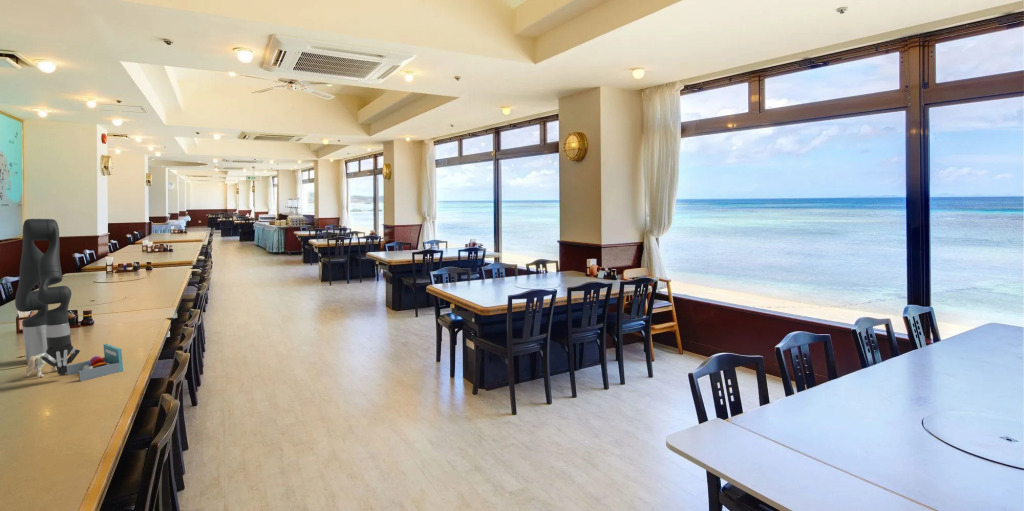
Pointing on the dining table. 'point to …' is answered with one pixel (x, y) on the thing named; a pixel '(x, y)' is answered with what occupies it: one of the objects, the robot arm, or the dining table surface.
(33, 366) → the unicorn figurine
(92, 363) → the white-wheeled rainbow disc toy
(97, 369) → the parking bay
